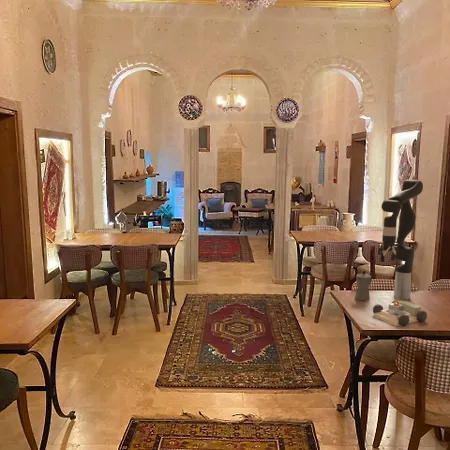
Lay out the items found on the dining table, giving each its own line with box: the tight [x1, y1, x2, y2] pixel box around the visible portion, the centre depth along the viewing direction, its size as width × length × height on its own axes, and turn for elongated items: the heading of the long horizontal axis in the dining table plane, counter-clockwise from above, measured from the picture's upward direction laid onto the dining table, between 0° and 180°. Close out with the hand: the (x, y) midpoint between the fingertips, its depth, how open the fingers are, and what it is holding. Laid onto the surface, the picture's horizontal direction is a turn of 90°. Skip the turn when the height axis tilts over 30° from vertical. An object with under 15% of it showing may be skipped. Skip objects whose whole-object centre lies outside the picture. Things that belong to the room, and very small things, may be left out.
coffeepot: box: [354, 270, 373, 301], centre depth 280 cm, size 15×9×18 cm, turn 128°
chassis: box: [372, 300, 428, 327], centre depth 247 cm, size 22×20×7 cm
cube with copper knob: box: [388, 301, 404, 316], centre depth 245 cm, size 6×6×7 cm
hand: (387, 261), depth 261 cm, fingers open, 8 cm apart
